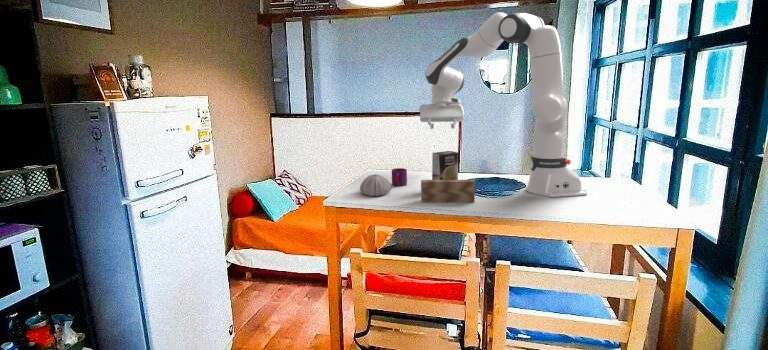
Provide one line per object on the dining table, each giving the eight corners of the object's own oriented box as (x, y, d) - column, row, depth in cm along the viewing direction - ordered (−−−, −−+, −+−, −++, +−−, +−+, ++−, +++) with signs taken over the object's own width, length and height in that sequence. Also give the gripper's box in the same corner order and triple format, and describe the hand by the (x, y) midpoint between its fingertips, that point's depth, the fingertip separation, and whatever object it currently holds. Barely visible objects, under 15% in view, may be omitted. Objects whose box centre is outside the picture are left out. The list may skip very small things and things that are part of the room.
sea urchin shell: (373, 200, 157) (373, 180, 155) (352, 193, 167) (352, 175, 165) (398, 193, 166) (397, 174, 164) (376, 187, 176) (376, 169, 174)
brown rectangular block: (472, 198, 155) (473, 178, 153) (474, 202, 150) (474, 181, 148) (421, 198, 157) (421, 178, 155) (421, 202, 152) (421, 182, 150)
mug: (408, 183, 181) (408, 168, 179) (402, 188, 172) (402, 173, 170) (394, 182, 183) (394, 167, 181) (387, 188, 174) (387, 172, 172)
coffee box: (440, 193, 163) (440, 154, 159) (431, 190, 168) (431, 152, 165) (458, 190, 167) (458, 152, 163) (449, 186, 172) (449, 150, 169)
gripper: (419, 100, 185) (419, 123, 178) (463, 99, 184) (465, 123, 177) (419, 109, 191) (419, 132, 184) (462, 108, 189) (464, 131, 182)
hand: (442, 127), depth 180 cm, fingers open, 8 cm apart
